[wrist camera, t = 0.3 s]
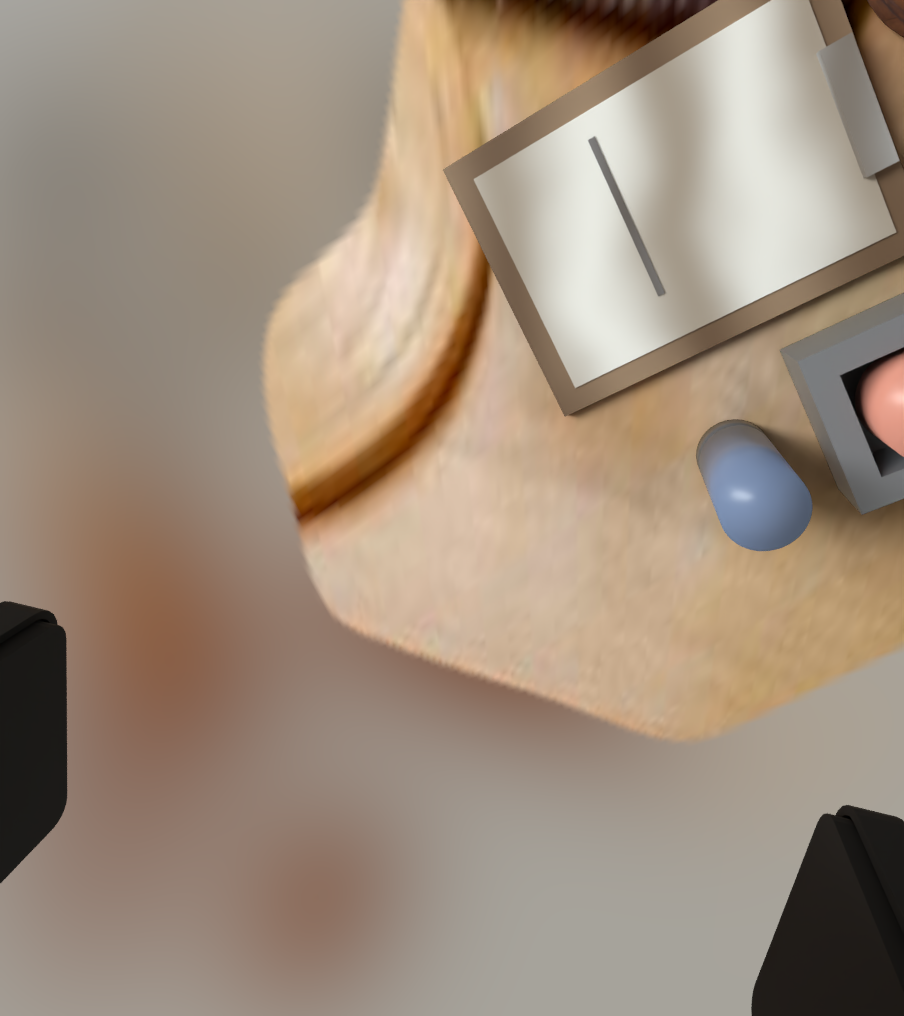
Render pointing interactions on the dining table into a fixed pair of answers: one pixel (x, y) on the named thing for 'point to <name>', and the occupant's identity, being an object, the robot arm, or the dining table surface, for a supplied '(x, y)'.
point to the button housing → (850, 401)
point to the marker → (752, 486)
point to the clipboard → (688, 193)
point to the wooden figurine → (890, 13)
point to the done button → (883, 399)
